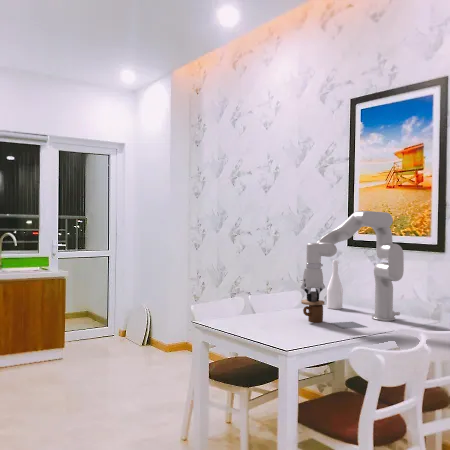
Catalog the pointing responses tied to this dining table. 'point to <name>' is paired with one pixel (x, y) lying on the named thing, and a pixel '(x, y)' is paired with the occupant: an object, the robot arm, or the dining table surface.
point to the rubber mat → (348, 325)
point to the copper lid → (313, 300)
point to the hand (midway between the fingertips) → (312, 300)
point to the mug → (314, 313)
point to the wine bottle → (334, 289)
